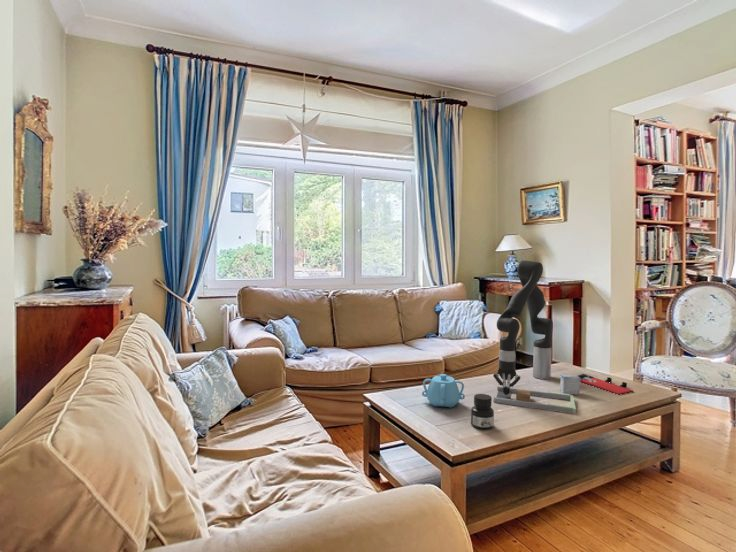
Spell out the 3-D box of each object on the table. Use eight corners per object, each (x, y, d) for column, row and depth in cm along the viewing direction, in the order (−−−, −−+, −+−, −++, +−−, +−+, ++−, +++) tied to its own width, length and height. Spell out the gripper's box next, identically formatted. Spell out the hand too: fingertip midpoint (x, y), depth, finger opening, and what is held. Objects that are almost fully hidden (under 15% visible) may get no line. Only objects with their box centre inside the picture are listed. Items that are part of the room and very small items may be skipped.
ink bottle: (472, 430, 164) (472, 400, 163) (468, 420, 173) (468, 392, 172) (497, 430, 164) (497, 400, 163) (491, 421, 172) (492, 393, 172)
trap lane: (497, 390, 211) (497, 385, 211) (572, 399, 198) (573, 394, 198) (493, 402, 194) (493, 397, 194) (575, 413, 181) (575, 408, 181)
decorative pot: (418, 400, 196) (418, 372, 195) (446, 395, 203) (446, 367, 203) (439, 412, 182) (439, 382, 181) (468, 406, 189) (468, 377, 188)
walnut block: (516, 397, 202) (517, 389, 201) (530, 398, 199) (530, 390, 199) (516, 401, 196) (516, 392, 196) (529, 403, 194) (529, 394, 194)
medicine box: (576, 391, 209) (576, 374, 208) (579, 394, 205) (580, 377, 204) (559, 391, 210) (560, 374, 209) (563, 394, 205) (563, 377, 205)
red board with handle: (586, 374, 238) (567, 378, 232) (586, 370, 237) (567, 373, 231) (638, 392, 210) (618, 396, 204) (638, 386, 210) (618, 391, 204)
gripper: (522, 358, 200) (521, 393, 202) (493, 355, 206) (493, 390, 207) (521, 362, 194) (520, 398, 195) (492, 359, 199) (491, 394, 200)
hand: (506, 394), depth 201 cm, fingers closed
